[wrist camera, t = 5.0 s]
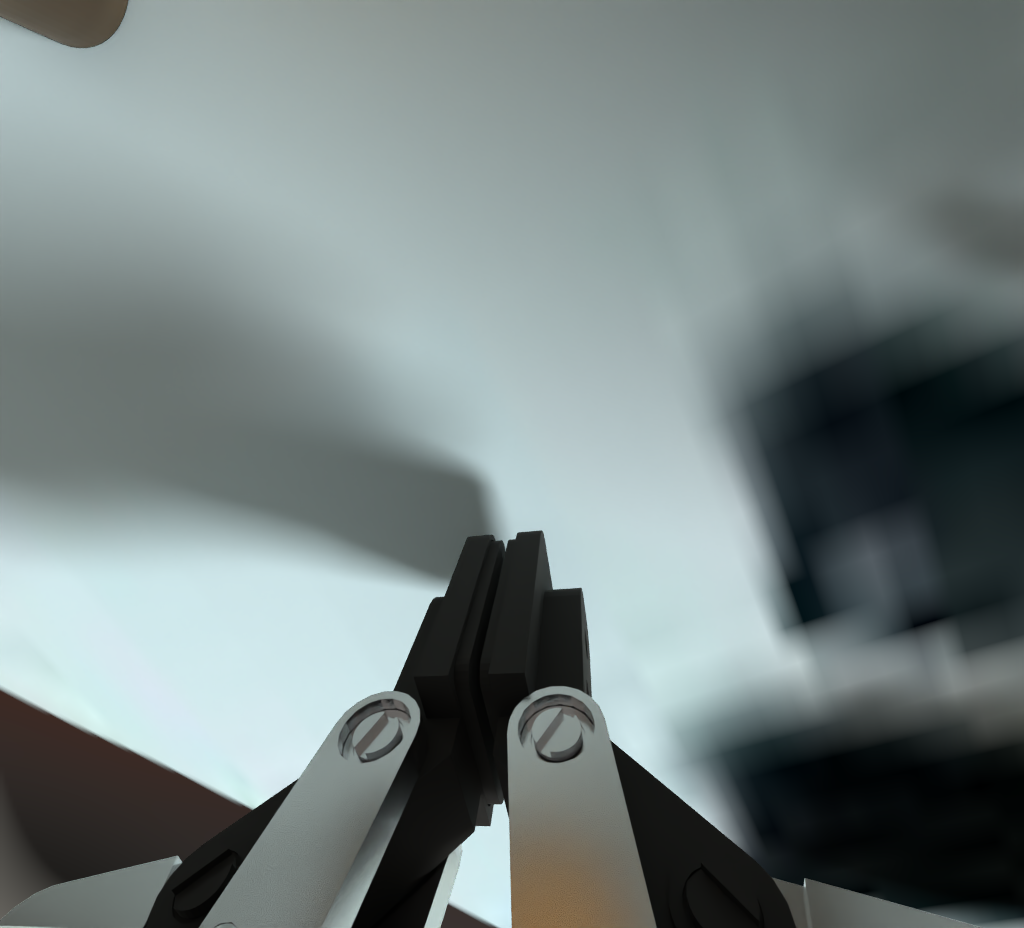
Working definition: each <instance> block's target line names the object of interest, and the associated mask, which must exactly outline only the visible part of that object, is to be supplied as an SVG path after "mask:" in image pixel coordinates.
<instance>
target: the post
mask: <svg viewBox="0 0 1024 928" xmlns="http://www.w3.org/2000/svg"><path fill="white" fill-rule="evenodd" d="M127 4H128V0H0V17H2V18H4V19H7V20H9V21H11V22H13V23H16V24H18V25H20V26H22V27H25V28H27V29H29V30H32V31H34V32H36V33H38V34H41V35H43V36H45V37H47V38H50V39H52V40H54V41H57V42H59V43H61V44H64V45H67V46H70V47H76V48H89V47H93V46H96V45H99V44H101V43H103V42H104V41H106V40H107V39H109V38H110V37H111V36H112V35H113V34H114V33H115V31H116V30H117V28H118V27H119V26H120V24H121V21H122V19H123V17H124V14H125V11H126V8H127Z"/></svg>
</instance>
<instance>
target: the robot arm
mask: <svg viewBox="0 0 1024 928" xmlns="http://www.w3.org/2000/svg"><path fill="white" fill-rule="evenodd" d="M503 800H504V801H505V804H506V808H507V812H508V816H509V830H510V872H511V913H512V928H982V927H978V926H975V925H971V924H968V923H964V922H960V921H957V920H953V919H950V918H946V917H942V916H939V915H935V914H932V913H928V912H924V911H921V910H917V909H914V908H910V907H906V906H903V905H899V904H896V903H892V902H889V901H885V900H881V899H878V898H874V897H871V896H867V895H863V894H860V893H856V892H853V891H849V890H845V889H842V888H838V887H835V886H831V885H827V884H824V883H820V882H817V881H813V880H809V879H806V878H805V879H804V887H803V886H799V885H796V884H792V883H789V882H785V881H782V880H778V879H775V878H771V877H770V876H769V874H768V873H767V872H766V871H765V870H764V869H763V868H762V867H761V866H760V865H759V864H758V863H757V862H756V861H755V860H754V859H753V858H751V857H750V856H749V855H748V854H747V853H745V852H744V851H743V850H742V849H741V848H739V847H738V846H737V845H736V844H735V843H733V842H732V841H731V840H730V839H728V838H727V837H726V836H725V835H724V834H722V833H721V832H720V831H719V830H718V829H716V828H715V827H714V826H713V825H712V824H710V823H709V822H708V821H707V820H706V819H704V818H703V817H702V816H701V815H700V814H698V813H697V812H696V811H695V810H694V809H692V808H691V807H690V806H689V805H688V804H686V803H685V802H684V801H683V800H682V799H680V798H679V797H678V796H677V795H676V794H674V793H673V792H672V791H671V790H670V789H668V788H667V787H666V786H665V785H664V784H662V783H661V782H660V781H659V780H658V779H656V778H655V777H654V776H653V775H651V774H650V773H649V772H648V771H647V770H645V769H644V768H643V767H642V766H641V765H639V764H638V763H637V762H636V761H635V760H633V759H632V758H631V757H630V756H629V755H627V754H626V753H625V752H624V751H623V750H621V749H620V748H619V747H618V746H617V745H615V744H614V743H613V742H612V741H611V740H610V738H609V734H608V730H607V726H606V721H605V718H604V716H603V713H602V711H601V709H600V707H599V705H598V704H597V703H596V702H595V701H594V700H593V699H592V694H591V672H590V653H589V640H588V630H587V621H586V613H585V606H584V598H583V592H582V588H573V589H557V590H553V588H552V581H551V575H550V569H549V563H548V557H547V551H546V544H545V539H544V534H543V531H531V532H519V533H517V536H516V539H513V540H509V541H508V544H507V548H506V552H505V547H504V543H503V541H502V540H501V541H495V538H494V536H493V535H484V536H473V537H468V538H467V540H466V542H465V545H464V547H463V550H462V553H461V555H460V558H459V560H458V563H457V565H456V568H455V571H454V573H453V576H452V578H451V581H450V583H449V586H448V589H447V591H446V594H445V596H444V597H436V598H434V599H433V600H432V602H431V603H430V605H429V608H428V610H427V613H426V615H425V617H424V620H423V622H422V624H421V627H420V629H419V632H418V634H417V636H416V639H415V641H414V643H413V646H412V648H411V650H410V653H409V655H408V658H407V660H406V662H405V665H404V667H403V669H402V672H401V674H400V677H399V679H398V681H397V684H396V686H395V688H394V691H386V692H381V693H377V694H374V695H371V696H369V697H367V698H365V699H363V700H361V701H359V702H357V703H356V704H355V705H354V706H352V707H351V708H350V709H349V710H347V711H346V712H345V713H344V715H343V716H342V717H341V718H340V719H339V721H338V722H337V723H336V724H335V726H334V727H333V729H332V730H331V732H330V733H329V735H328V736H327V738H326V739H325V741H324V742H323V744H322V745H321V747H320V748H319V750H318V751H317V753H316V754H315V756H314V757H313V759H312V760H311V761H310V763H309V764H308V766H307V767H306V769H305V770H304V772H303V773H302V775H301V776H300V778H299V779H297V780H296V781H294V782H293V783H292V784H290V785H289V786H287V787H286V788H284V789H283V790H281V791H280V792H278V793H277V794H276V795H274V796H273V797H271V798H270V799H268V800H267V801H265V802H264V803H263V804H261V805H260V806H258V807H257V808H255V809H254V810H252V811H251V812H250V813H248V814H247V815H245V816H244V817H242V818H241V819H239V820H238V821H236V822H235V823H233V824H232V825H231V826H229V827H228V828H226V829H225V830H223V831H222V832H220V833H219V834H218V835H216V836H215V837H213V838H212V839H210V840H209V841H207V842H206V843H205V844H203V845H202V846H201V847H199V848H198V849H197V850H196V851H195V852H193V853H192V854H191V855H190V856H188V857H187V858H186V859H185V860H184V861H183V862H181V860H180V859H179V857H178V856H175V857H171V858H166V859H162V860H158V861H154V862H150V863H146V864H141V865H137V866H133V867H129V868H125V869H121V870H116V871H112V872H108V873H104V874H100V875H96V876H92V877H87V878H84V879H79V880H75V881H71V882H67V883H62V884H59V885H55V886H52V887H50V888H47V889H45V890H42V891H40V892H37V893H35V894H34V895H32V896H31V897H29V898H28V899H26V900H25V901H24V902H22V903H20V904H19V905H17V906H16V907H14V908H13V909H12V910H11V911H10V912H9V913H8V914H6V915H5V916H4V917H3V918H2V919H1V920H0V928H440V926H441V923H442V920H443V917H444V914H445V910H446V907H447V904H448V901H449V898H450V895H451V891H452V888H453V885H454V882H455V879H456V875H457V872H458V869H459V866H460V860H461V855H462V843H463V842H464V841H465V840H466V839H467V838H468V837H469V836H470V835H471V834H472V833H473V832H474V831H475V826H490V825H491V819H492V812H493V805H494V804H502V803H503Z"/></svg>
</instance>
